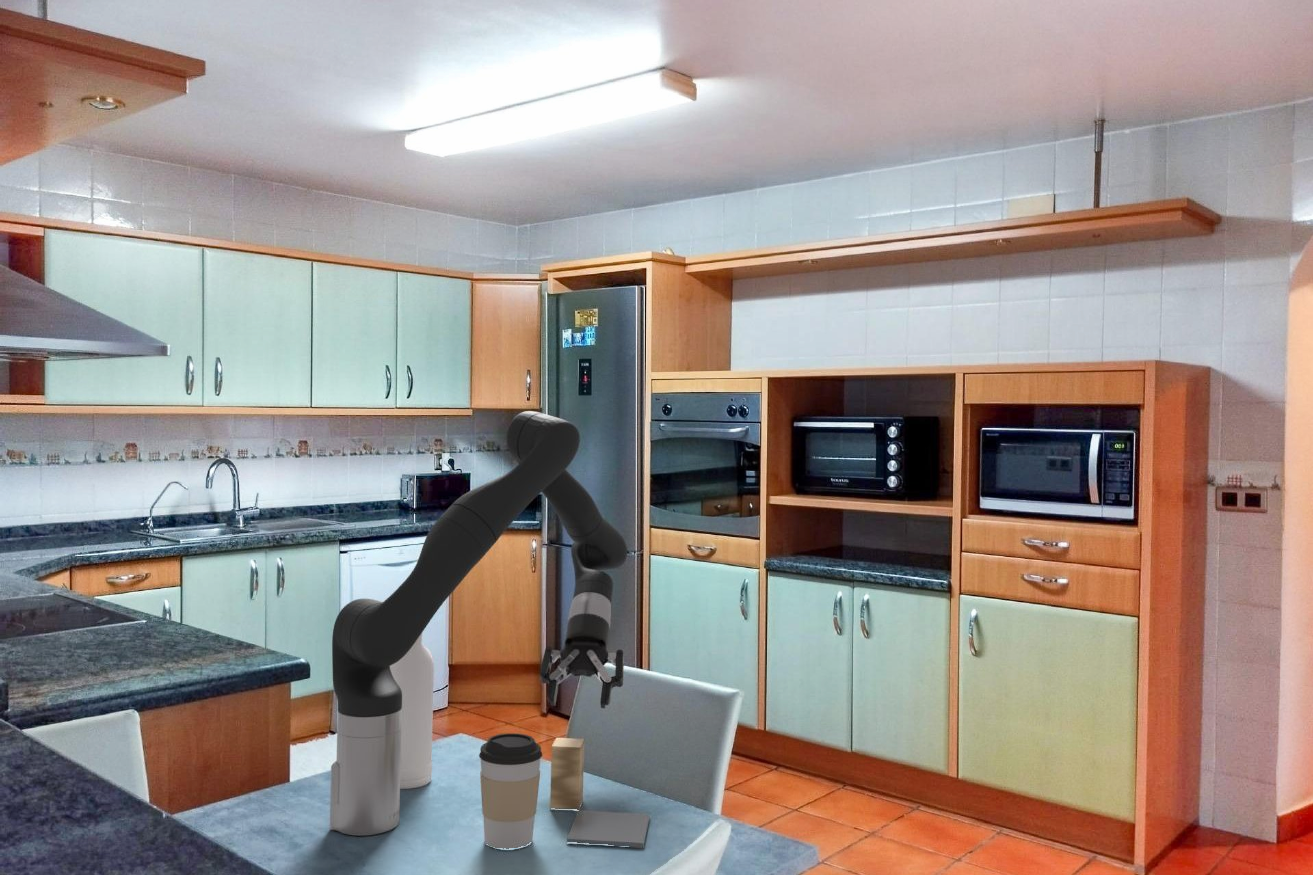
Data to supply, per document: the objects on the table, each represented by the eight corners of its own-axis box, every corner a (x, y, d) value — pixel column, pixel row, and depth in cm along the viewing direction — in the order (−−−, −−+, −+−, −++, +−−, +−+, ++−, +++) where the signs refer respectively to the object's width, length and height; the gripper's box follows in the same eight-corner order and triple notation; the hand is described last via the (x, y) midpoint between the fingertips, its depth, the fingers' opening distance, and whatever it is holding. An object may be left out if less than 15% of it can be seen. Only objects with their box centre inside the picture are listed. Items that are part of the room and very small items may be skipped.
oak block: (550, 809, 159) (551, 746, 159) (555, 799, 164) (556, 737, 164) (578, 811, 159) (580, 747, 159) (582, 800, 163) (584, 738, 163)
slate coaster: (567, 844, 146) (567, 838, 146) (578, 815, 157) (578, 810, 157) (643, 848, 145) (643, 842, 145) (649, 819, 156) (649, 814, 156)
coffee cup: (510, 823, 153) (513, 724, 153) (553, 840, 147) (555, 737, 147) (463, 841, 146) (466, 737, 146) (506, 859, 140) (509, 751, 140)
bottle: (394, 771, 175) (399, 597, 175) (438, 774, 174) (443, 599, 174) (375, 787, 167) (379, 604, 167) (421, 791, 166) (426, 607, 166)
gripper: (547, 610, 180) (533, 691, 169) (627, 613, 179) (618, 694, 168) (551, 634, 186) (538, 714, 174) (629, 637, 185) (621, 718, 173)
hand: (577, 704), depth 171 cm, fingers open, 8 cm apart
